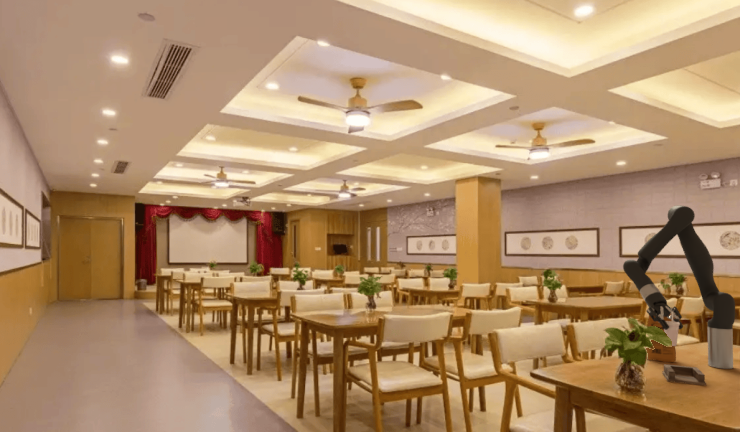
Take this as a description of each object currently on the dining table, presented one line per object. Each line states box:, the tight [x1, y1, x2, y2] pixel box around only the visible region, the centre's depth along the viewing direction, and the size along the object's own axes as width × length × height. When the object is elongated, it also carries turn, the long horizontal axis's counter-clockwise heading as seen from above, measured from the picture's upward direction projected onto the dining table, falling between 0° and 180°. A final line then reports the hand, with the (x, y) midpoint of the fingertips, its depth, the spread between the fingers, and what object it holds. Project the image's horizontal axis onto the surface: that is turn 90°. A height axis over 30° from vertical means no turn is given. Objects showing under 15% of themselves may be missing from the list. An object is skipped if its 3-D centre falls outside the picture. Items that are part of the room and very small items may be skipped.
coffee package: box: [645, 313, 677, 363], centre depth 237 cm, size 10×12×22 cm
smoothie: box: [664, 312, 680, 347], centre depth 213 cm, size 6×6×14 cm
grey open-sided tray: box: [661, 364, 707, 386], centre depth 203 cm, size 13×13×4 cm
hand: (674, 328), depth 211 cm, fingers closed on smoothie, 6 cm apart
